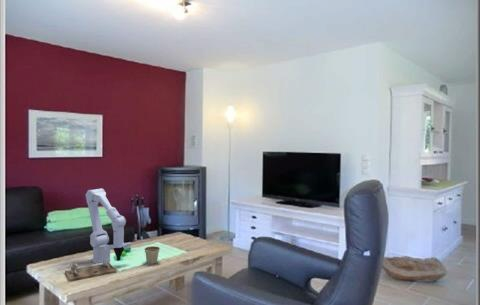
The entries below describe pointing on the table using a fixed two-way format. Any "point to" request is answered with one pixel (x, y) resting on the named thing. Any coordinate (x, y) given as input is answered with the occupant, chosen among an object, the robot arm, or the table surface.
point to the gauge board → (87, 272)
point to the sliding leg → (106, 262)
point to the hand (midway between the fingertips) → (118, 260)
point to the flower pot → (152, 254)
